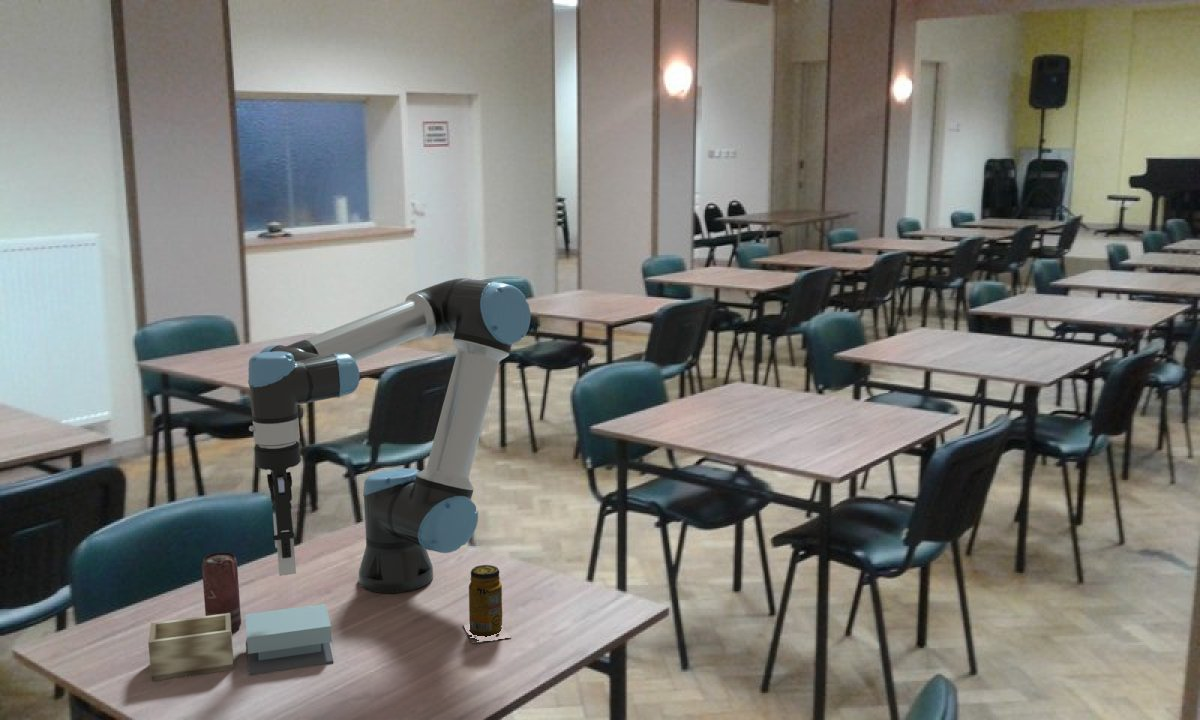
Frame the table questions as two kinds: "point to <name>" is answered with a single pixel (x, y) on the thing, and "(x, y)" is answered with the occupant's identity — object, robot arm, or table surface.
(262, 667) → the mat
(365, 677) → the table surface
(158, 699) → the table surface
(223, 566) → the can
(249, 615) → the lid
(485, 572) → the condiment
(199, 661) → the crate
